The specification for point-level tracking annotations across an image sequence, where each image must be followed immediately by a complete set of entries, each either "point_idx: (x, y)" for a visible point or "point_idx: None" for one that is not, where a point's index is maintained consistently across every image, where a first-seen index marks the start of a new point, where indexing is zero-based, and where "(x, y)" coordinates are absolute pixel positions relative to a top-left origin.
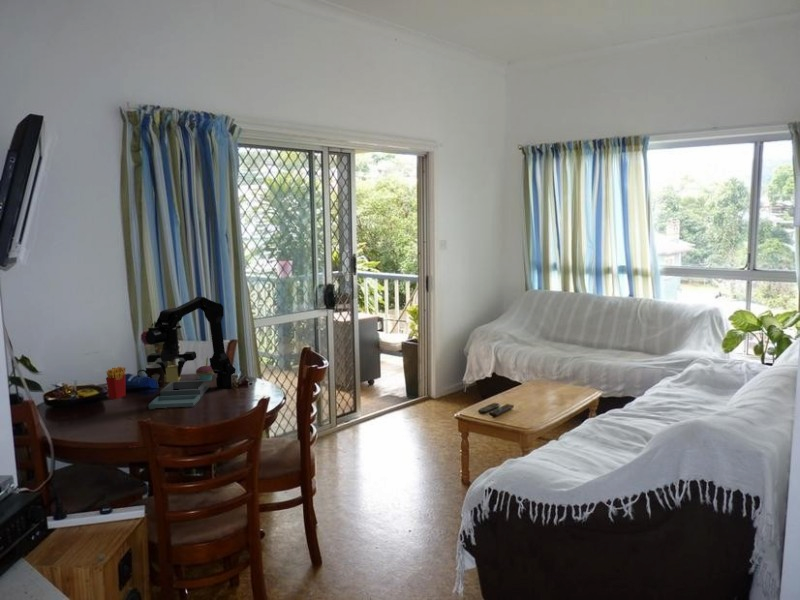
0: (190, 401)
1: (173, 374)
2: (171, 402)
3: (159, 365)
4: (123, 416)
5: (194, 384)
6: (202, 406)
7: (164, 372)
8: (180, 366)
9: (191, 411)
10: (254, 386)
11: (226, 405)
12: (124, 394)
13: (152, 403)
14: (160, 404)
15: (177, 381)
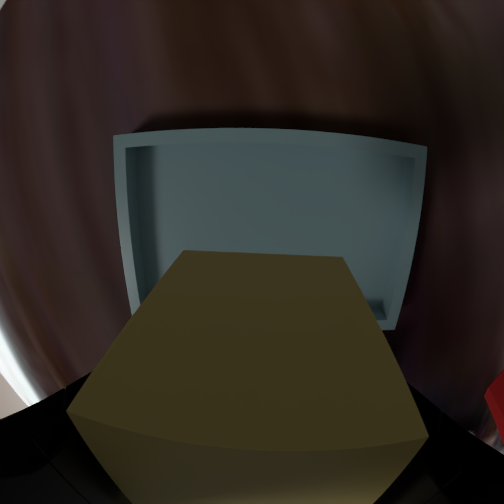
0: (171, 242)
1: (215, 310)
2: (295, 244)
3: None
4: (489, 59)
5: None
6: (87, 148)
7: (410, 385)
8: (22, 426)
9: (125, 52)
10: (37, 394)
11: (5, 161)
12: (491, 390)
13: (409, 188)
14: (349, 134)
15: (185, 250)
